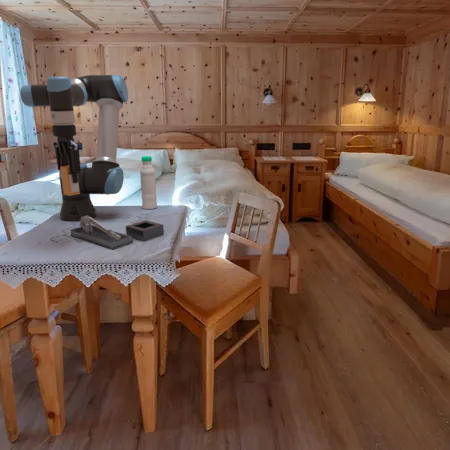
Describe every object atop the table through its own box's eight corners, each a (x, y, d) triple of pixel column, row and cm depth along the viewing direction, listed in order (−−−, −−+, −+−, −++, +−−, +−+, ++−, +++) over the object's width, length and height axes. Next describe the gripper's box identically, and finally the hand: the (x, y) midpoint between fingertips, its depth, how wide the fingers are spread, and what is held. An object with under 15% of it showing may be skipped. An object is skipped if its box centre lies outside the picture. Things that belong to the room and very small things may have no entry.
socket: (126, 236, 155) (125, 226, 154) (146, 229, 163) (145, 220, 162) (143, 241, 149) (143, 230, 148) (163, 234, 157) (163, 224, 156)
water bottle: (141, 206, 199) (137, 155, 192) (155, 205, 201) (152, 154, 194) (143, 210, 193) (140, 157, 186) (158, 208, 195) (155, 156, 188)
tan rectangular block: (63, 194, 146) (60, 166, 144) (73, 192, 149) (70, 165, 146) (69, 195, 144) (66, 167, 141) (79, 193, 147) (76, 166, 144)
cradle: (70, 235, 157) (70, 229, 156) (90, 229, 163) (90, 224, 163) (112, 249, 141) (112, 243, 141) (132, 242, 148) (132, 236, 147)
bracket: (86, 225, 160) (90, 204, 155) (118, 256, 150) (123, 235, 145) (79, 227, 157) (82, 205, 152) (111, 259, 148) (116, 237, 143)
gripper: (41, 124, 142) (49, 189, 149) (66, 125, 132) (74, 196, 138) (61, 123, 148) (68, 186, 154) (87, 124, 137) (94, 192, 144)
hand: (71, 190), depth 146 cm, fingers closed on tan rectangular block, 4 cm apart
